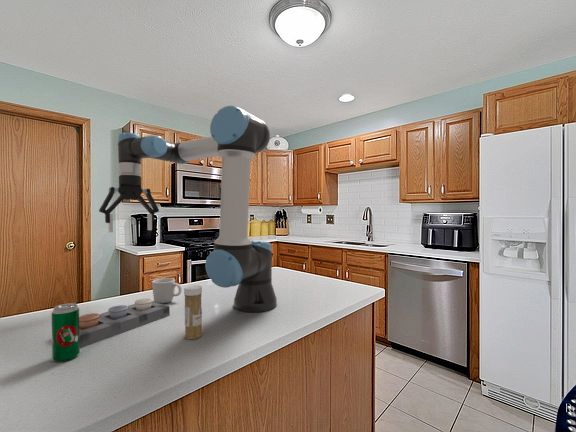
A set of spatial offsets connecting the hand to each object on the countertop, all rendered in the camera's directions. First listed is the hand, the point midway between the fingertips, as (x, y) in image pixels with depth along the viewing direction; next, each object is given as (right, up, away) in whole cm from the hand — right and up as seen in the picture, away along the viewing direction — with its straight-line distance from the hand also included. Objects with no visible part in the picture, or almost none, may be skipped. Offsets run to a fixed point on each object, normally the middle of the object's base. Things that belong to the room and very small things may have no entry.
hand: (131, 231), depth 111 cm
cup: (+15, -26, -2) cm, 30 cm away
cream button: (+14, -24, -18) cm, 33 cm away
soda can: (+9, -27, -44) cm, 52 cm away
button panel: (+10, -27, -25) cm, 38 cm away
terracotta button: (+6, -25, -32) cm, 40 cm away
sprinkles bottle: (+34, -27, -32) cm, 54 cm away
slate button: (+10, -24, -25) cm, 36 cm away
